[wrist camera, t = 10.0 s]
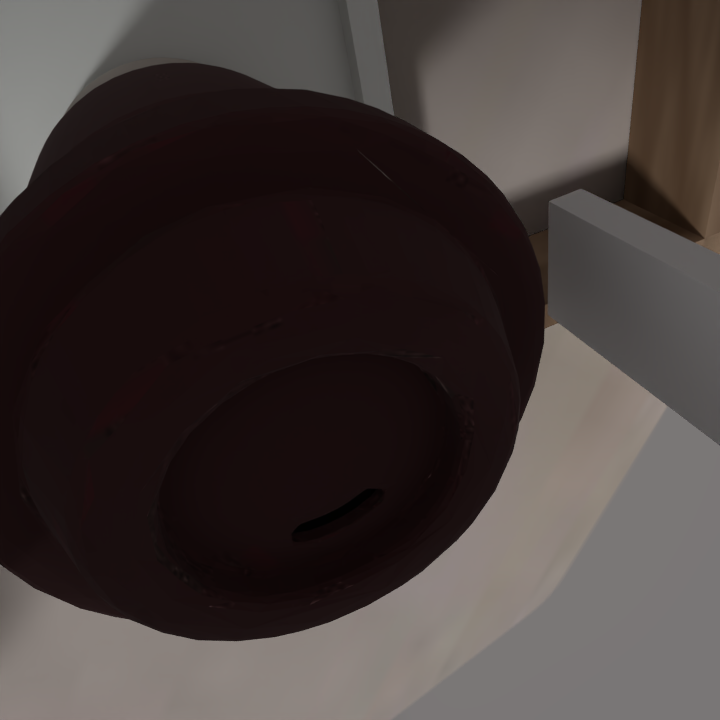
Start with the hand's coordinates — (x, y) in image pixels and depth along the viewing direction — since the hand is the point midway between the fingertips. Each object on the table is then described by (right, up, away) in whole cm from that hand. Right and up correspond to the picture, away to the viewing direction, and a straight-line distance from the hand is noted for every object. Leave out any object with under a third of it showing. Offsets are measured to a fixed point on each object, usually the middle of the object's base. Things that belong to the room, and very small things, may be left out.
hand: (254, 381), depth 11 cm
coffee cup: (-4, +7, +9) cm, 12 cm away
